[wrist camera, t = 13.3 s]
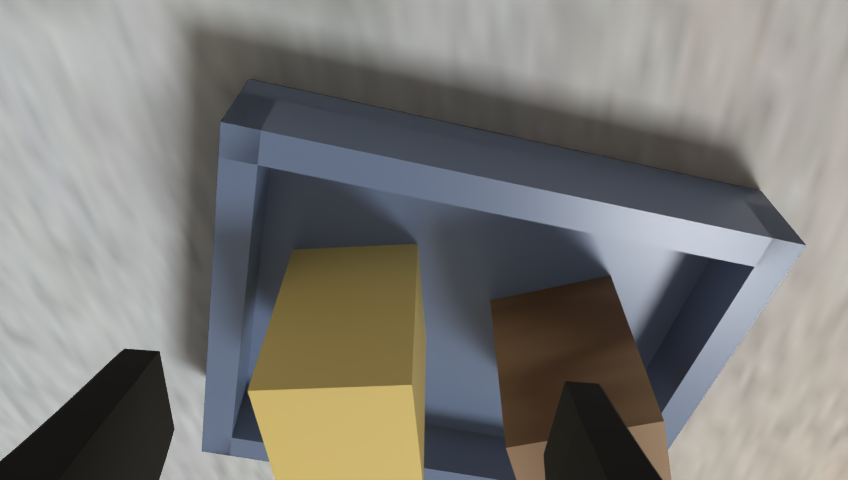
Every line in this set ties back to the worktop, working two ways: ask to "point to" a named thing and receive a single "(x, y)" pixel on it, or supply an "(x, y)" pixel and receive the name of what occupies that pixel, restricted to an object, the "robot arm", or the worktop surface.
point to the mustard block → (345, 367)
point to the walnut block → (569, 368)
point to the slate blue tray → (475, 254)
